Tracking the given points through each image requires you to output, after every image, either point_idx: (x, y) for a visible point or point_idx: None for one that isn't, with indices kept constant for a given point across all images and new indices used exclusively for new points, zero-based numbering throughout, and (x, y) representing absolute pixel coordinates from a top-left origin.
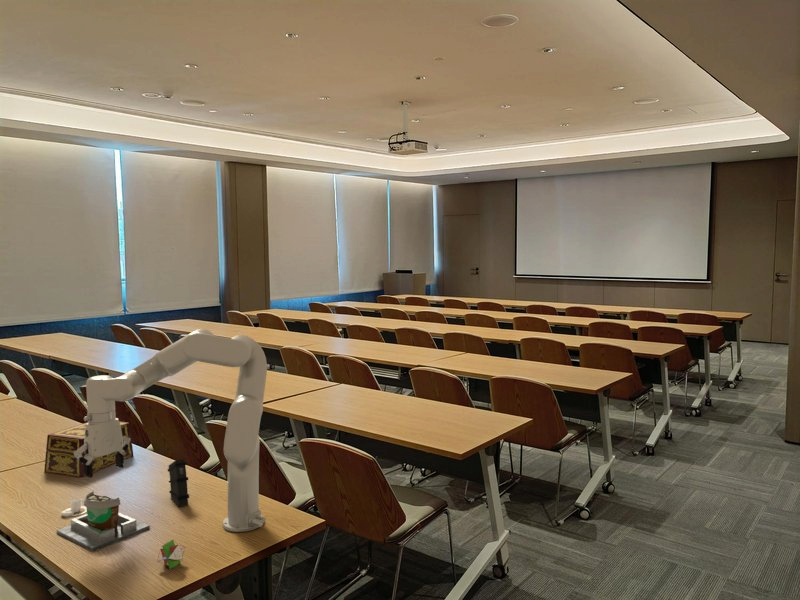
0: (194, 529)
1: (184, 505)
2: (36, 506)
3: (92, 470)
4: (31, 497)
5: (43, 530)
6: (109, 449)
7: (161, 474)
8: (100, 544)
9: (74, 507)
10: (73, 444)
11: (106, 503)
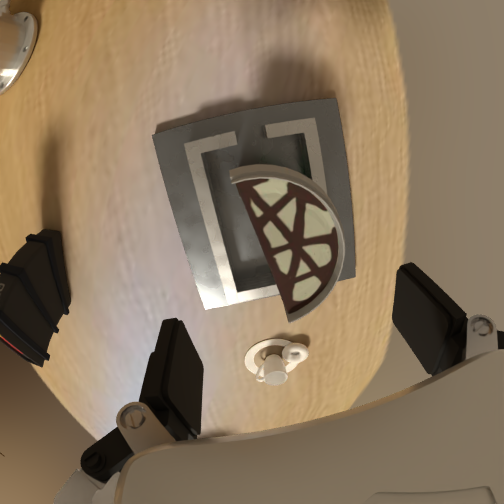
0: (74, 65)
1: (49, 230)
2: (315, 403)
3: (423, 292)
4: None
5: (361, 304)
6: (354, 469)
7: (90, 400)
8: (313, 103)
9: (280, 362)
10: None
11: (292, 176)
